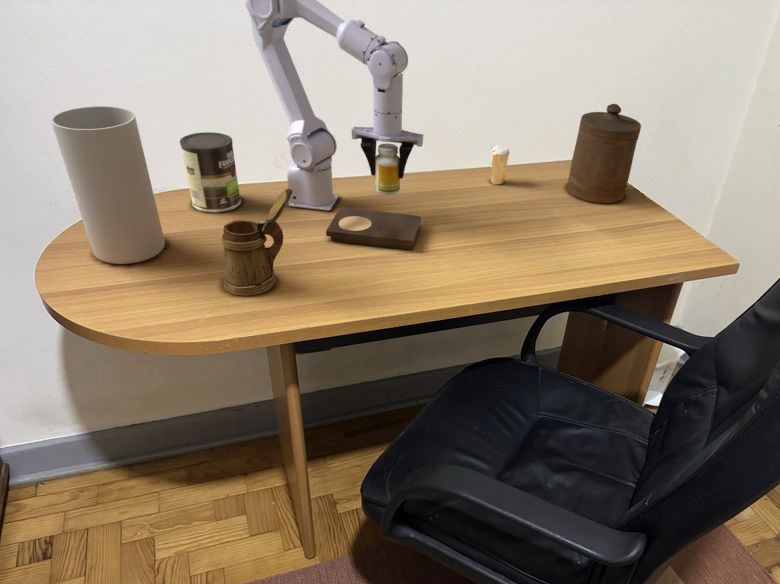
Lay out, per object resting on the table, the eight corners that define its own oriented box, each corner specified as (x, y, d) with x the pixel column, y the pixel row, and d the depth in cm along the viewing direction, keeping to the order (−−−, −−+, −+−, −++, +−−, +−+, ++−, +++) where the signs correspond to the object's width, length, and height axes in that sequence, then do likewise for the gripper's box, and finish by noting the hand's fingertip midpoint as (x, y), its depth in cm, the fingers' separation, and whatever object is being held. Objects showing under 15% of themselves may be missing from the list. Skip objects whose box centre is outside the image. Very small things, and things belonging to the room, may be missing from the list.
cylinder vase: (85, 244, 120) (42, 111, 105) (152, 229, 127) (121, 102, 112) (105, 272, 113) (62, 134, 98) (175, 254, 120) (145, 123, 105)
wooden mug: (301, 293, 113) (292, 200, 102) (222, 297, 110) (204, 201, 99) (300, 268, 120) (291, 178, 109) (225, 271, 116) (209, 179, 106)
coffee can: (249, 197, 143) (240, 135, 134) (228, 215, 134) (217, 151, 126) (206, 190, 143) (195, 129, 135) (183, 209, 135) (169, 144, 127)
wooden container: (633, 193, 163) (656, 106, 150) (606, 209, 154) (627, 118, 140) (585, 176, 170) (602, 92, 157) (555, 190, 160) (571, 102, 147)
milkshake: (482, 179, 162) (486, 141, 156) (500, 177, 164) (505, 140, 158) (490, 186, 159) (494, 147, 153) (508, 184, 161) (513, 146, 155)
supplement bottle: (370, 188, 135) (369, 144, 129) (390, 183, 138) (391, 140, 132) (384, 197, 132) (384, 152, 126) (404, 192, 135) (406, 148, 129)
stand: (326, 241, 129) (325, 230, 127) (341, 217, 138) (340, 205, 137) (412, 251, 128) (413, 240, 127) (421, 226, 138) (421, 215, 136)
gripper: (347, 111, 122) (349, 178, 130) (421, 119, 121) (418, 186, 130) (355, 101, 127) (356, 166, 135) (425, 109, 127) (423, 173, 135)
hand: (387, 175), depth 133 cm, fingers closed on supplement bottle, 5 cm apart
